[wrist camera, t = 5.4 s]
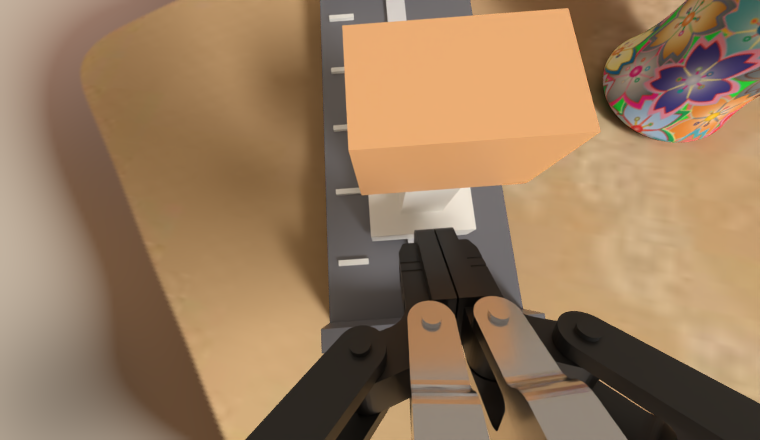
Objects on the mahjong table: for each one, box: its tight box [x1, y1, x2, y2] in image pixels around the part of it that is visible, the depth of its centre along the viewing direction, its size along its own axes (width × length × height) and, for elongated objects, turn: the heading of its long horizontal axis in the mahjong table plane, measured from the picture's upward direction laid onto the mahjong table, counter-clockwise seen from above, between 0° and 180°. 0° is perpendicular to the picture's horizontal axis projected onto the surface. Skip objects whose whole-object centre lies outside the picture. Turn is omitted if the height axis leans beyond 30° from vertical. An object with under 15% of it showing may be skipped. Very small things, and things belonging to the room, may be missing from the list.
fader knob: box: [342, 8, 601, 241], centre depth 11 cm, size 4×5×10 cm
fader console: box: [320, 0, 545, 353], centre depth 17 cm, size 24×10×5 cm, turn 4°
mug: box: [603, 0, 760, 142], centre depth 15 cm, size 12×9×11 cm
